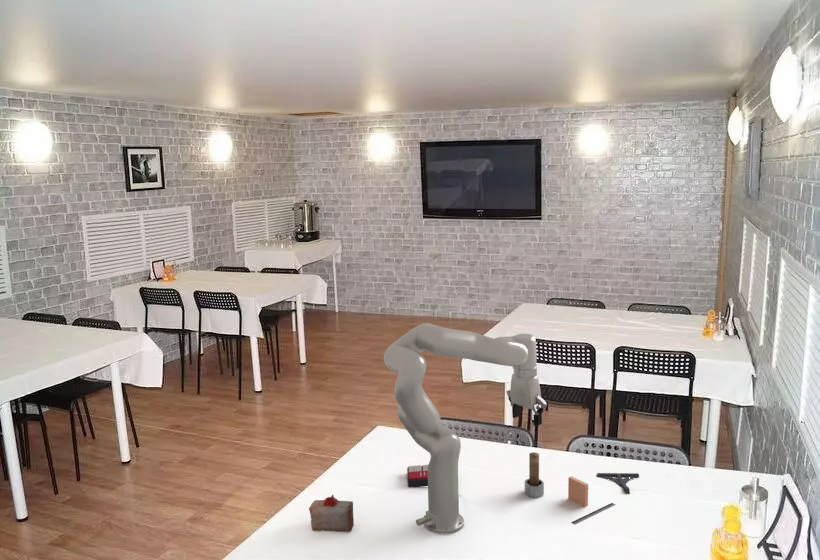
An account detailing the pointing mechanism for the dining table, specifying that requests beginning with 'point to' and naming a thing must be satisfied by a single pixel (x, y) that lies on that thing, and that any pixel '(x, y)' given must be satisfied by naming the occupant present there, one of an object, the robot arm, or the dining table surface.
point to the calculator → (417, 476)
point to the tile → (578, 491)
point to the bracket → (619, 478)
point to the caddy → (534, 489)
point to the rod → (534, 469)
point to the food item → (331, 515)
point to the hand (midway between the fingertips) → (527, 420)
